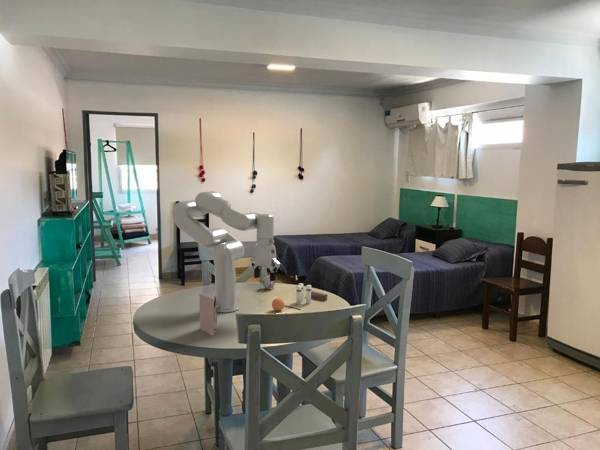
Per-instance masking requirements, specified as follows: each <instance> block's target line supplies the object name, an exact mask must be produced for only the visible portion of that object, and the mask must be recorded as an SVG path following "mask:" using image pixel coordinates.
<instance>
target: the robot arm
mask: <svg viewBox="0 0 600 450" xmlns="http://www.w3.org/2000/svg"><path fill="white" fill-rule="evenodd" d="M231 207H232V206H231V203H230V201H228V200H226V199H224V198H223V197H222V196H221V194H220V193H218V191H212V190H211V191H201V192H199V193H198V194H197V195H196V196H195V199H194V200H185V201H184V200H183V201H179V202H177V203H175V205H174V206H173V207H172V210H171V211H172V212H171V216H172V220H173V223H175V225H176V226H177V228H179V229H180V230H181V231H182V232H183V233H185V234H186V235H188V236H189V237H190V238H191V239H192V240H193V241H195V242H196V244H197V243H198V244H199V245H200V246H201V247H202V248H204V249H205V250H213V251H212V258H213V265H214V295H215V294H216V309H217V313H222V312H223V313H226V314H227V313H233V312H237V311H239V309H240V306H239V304H237V303H236V302H237V301H236V299H237V298H236V290H237V289H236V285H237V284H236V283H237V281H236V280H237V279H236V278H237V277H236V267H235V264H234V262H235V261H237V260H240V259H241V258H243V256H244V255H245V247H244V244H243V243H242V242H241V241H240V240H239V239H237V238H236V236H233V235H232V234H231V233H229V232H228V231H227V230H225V229H223V228H220V227H215V228H210V227H207V226H206V225H205V224H204V223H202V222H201V221H199V220H198V219H196V218H200V217H203V216H204V215H207V214H211V215H213V216H215V217H218V218H219V219H221V221H222V222H223V223H224V224H225V225H227V226H229V227H230V228H233V229H235V230H238V231H240V232H241V231H242V232H247V231H250V230H252V231H253V230H256V244H255V248H254V256H253V257H252V258H250V259H249V260H250V262H251V266H252V268H253V274H254V275H253V277H254V279H258V278H260V277H261V268H266V269H269V270H270V273H269V276H270V281H271V282H272V281H276V280H277V272H278V270H279V269H280V265H281V263H280V262H279V261H278V259H277V258H278V257H277V249H276V246H275V240H274V231H275V229H274V225H275V224H274V221H275V220H274V215H272V214H270V213H258V212H247V213H242V212H240V211H237V210H235V209H232V208H231ZM260 267H261V268H260ZM223 313H222V314H223Z"/></svg>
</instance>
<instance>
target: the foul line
mask: <svg viewBox="0 0 600 450" xmlns="http://www.w3.org/2000/svg"><path fill="white" fill-rule="evenodd" d="M284 307H286V308H290V309H294V310H299V311H301V310H302V309H301V308H297V307H293V306H290V305H285V306H284Z"/></svg>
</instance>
